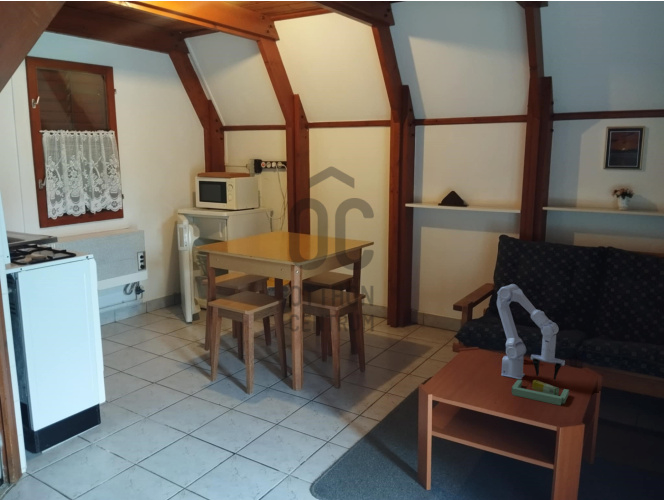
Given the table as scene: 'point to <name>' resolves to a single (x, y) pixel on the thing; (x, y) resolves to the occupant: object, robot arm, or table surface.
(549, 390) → the medication box
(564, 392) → the green u-shaped bracket
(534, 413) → the table surface
